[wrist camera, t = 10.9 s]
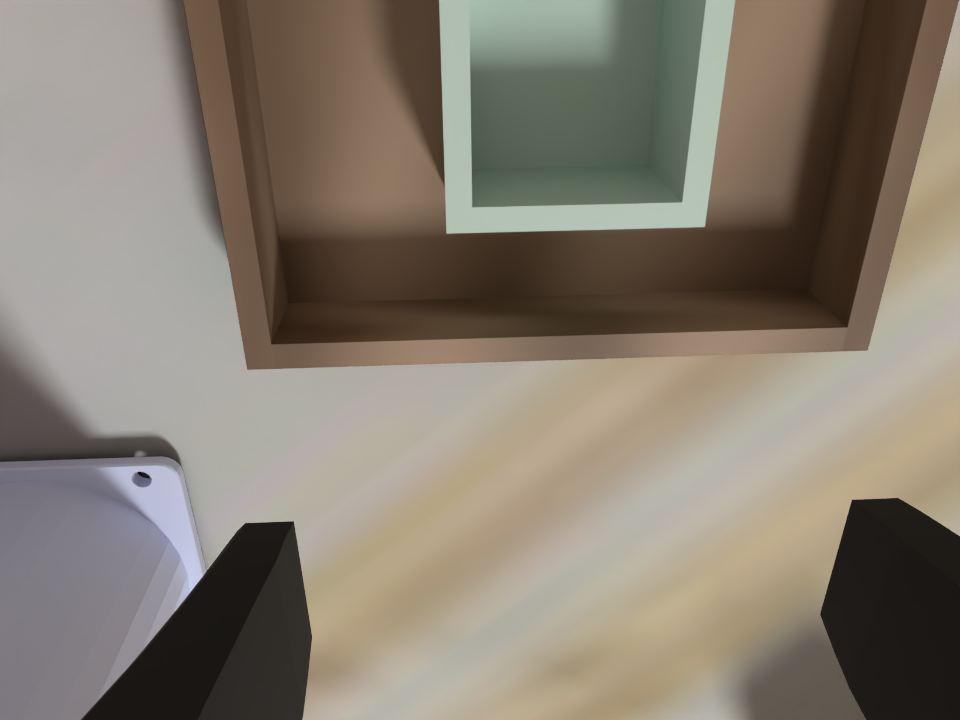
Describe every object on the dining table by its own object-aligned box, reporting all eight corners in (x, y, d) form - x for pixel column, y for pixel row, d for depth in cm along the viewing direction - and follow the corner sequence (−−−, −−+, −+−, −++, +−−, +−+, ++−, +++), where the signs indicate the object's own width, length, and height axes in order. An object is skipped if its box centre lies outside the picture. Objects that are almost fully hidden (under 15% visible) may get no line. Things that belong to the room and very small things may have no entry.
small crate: (444, 186, 18) (446, 233, 15) (433, -187, 14) (431, -220, 11) (661, 182, 18) (704, 226, 15) (700, -189, 14) (765, -222, 12)
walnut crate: (271, 316, 19) (247, 369, 17) (156, -446, 13) (89, -539, 10) (814, 300, 20) (867, 350, 18) (974, -439, 13) (1095, -525, 11)
